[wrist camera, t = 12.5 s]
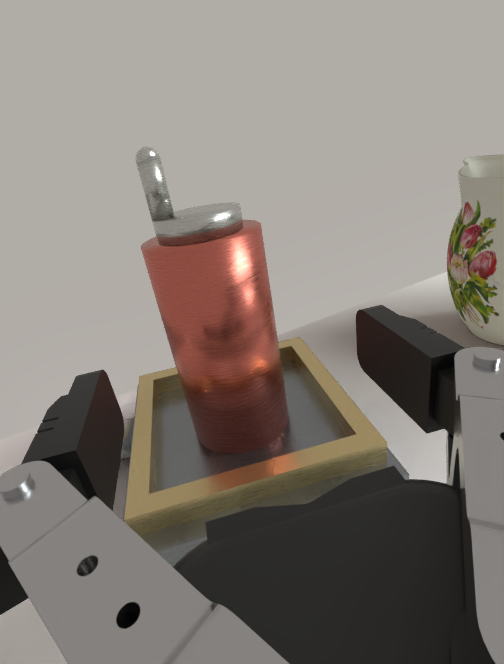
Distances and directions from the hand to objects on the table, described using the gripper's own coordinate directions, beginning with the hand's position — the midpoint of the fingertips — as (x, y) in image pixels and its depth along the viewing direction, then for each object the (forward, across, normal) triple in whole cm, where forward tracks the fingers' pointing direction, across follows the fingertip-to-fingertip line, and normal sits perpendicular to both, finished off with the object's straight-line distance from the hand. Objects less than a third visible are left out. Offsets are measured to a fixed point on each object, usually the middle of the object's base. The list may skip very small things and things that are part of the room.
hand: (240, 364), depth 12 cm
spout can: (+8, 0, +8) cm, 11 cm away
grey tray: (+8, +1, +11) cm, 14 cm away
